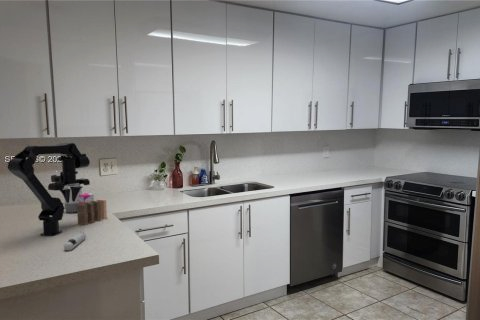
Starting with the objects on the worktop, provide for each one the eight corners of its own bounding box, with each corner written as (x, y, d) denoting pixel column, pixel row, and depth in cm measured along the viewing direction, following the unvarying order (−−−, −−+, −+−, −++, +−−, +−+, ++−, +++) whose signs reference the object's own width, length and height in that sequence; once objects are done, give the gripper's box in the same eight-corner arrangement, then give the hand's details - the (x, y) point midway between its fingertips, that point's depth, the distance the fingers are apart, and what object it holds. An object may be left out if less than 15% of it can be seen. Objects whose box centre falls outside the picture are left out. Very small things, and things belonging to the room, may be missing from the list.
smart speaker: (77, 209, 210) (76, 185, 209) (86, 211, 205) (85, 186, 204) (61, 212, 203) (60, 187, 201) (70, 214, 197) (69, 189, 196)
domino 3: (98, 221, 183) (97, 201, 182) (91, 220, 185) (90, 201, 184) (100, 220, 185) (100, 201, 184) (93, 219, 187) (92, 200, 186)
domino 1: (85, 225, 176) (84, 205, 175) (78, 224, 178) (77, 204, 177) (87, 224, 177) (87, 204, 177) (80, 223, 180) (79, 203, 179)
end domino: (104, 219, 187) (103, 200, 186) (97, 218, 189) (96, 199, 188) (106, 218, 188) (106, 199, 187) (99, 217, 190) (99, 199, 189)
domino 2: (91, 223, 180) (91, 203, 179) (84, 222, 182) (83, 202, 181) (94, 222, 181) (93, 202, 180) (87, 221, 183) (86, 201, 182)
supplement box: (89, 213, 201) (88, 192, 200) (95, 214, 197) (94, 193, 196) (79, 215, 196) (78, 194, 195) (84, 216, 192) (83, 195, 191)
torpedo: (73, 252, 140) (72, 235, 139) (61, 252, 140) (60, 235, 139) (89, 237, 158) (89, 222, 157) (78, 237, 157) (78, 223, 157)
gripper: (74, 166, 182) (75, 197, 184) (39, 170, 166) (41, 204, 167) (89, 167, 178) (91, 199, 179) (55, 172, 161) (57, 206, 162)
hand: (70, 202), depth 172 cm, fingers open, 3 cm apart
